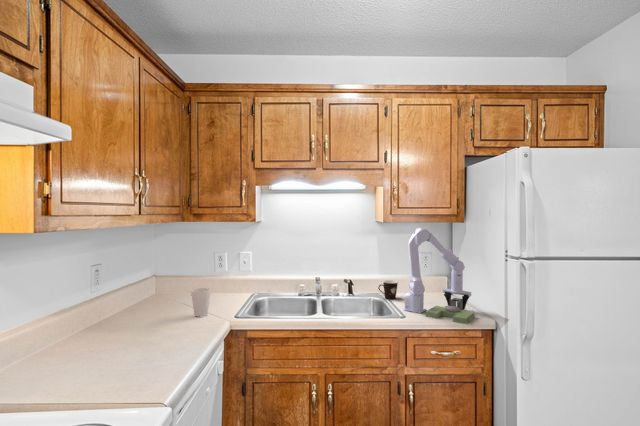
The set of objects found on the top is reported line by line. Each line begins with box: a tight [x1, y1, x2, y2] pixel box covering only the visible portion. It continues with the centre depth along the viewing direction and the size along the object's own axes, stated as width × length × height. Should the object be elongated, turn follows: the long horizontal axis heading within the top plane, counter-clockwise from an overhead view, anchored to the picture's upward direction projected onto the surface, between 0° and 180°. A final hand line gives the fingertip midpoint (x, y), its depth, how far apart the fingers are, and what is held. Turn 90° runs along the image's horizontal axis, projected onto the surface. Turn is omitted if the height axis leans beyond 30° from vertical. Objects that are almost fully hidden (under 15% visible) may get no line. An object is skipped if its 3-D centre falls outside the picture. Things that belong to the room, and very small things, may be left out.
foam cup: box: [190, 287, 211, 317], centre depth 198 cm, size 10×9×13 cm
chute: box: [449, 297, 465, 311], centre depth 209 cm, size 5×8×6 cm, turn 142°
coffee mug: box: [378, 279, 399, 301], centre depth 236 cm, size 12×9×10 cm
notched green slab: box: [425, 305, 475, 325], centre depth 198 cm, size 20×14×4 cm
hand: (456, 307), depth 209 cm, fingers open, 7 cm apart
